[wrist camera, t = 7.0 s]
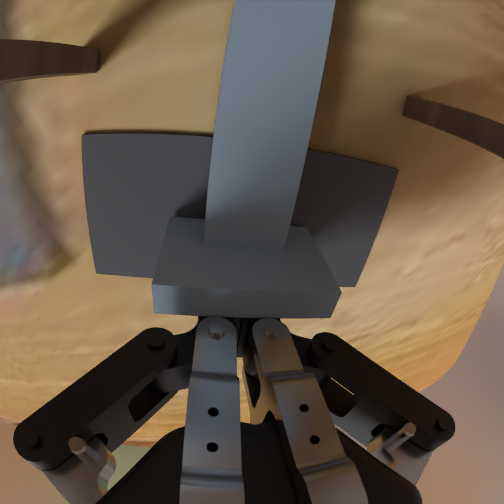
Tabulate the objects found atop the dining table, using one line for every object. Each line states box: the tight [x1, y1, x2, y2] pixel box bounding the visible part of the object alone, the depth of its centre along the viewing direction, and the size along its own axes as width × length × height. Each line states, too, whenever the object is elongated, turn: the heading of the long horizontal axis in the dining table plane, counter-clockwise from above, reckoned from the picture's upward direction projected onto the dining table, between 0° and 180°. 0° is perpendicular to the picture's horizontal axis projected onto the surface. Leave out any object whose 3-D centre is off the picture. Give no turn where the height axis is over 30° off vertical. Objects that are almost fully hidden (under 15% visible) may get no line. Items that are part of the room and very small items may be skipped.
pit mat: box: [82, 133, 399, 287], centre depth 13 cm, size 14×7×1 cm, turn 81°
